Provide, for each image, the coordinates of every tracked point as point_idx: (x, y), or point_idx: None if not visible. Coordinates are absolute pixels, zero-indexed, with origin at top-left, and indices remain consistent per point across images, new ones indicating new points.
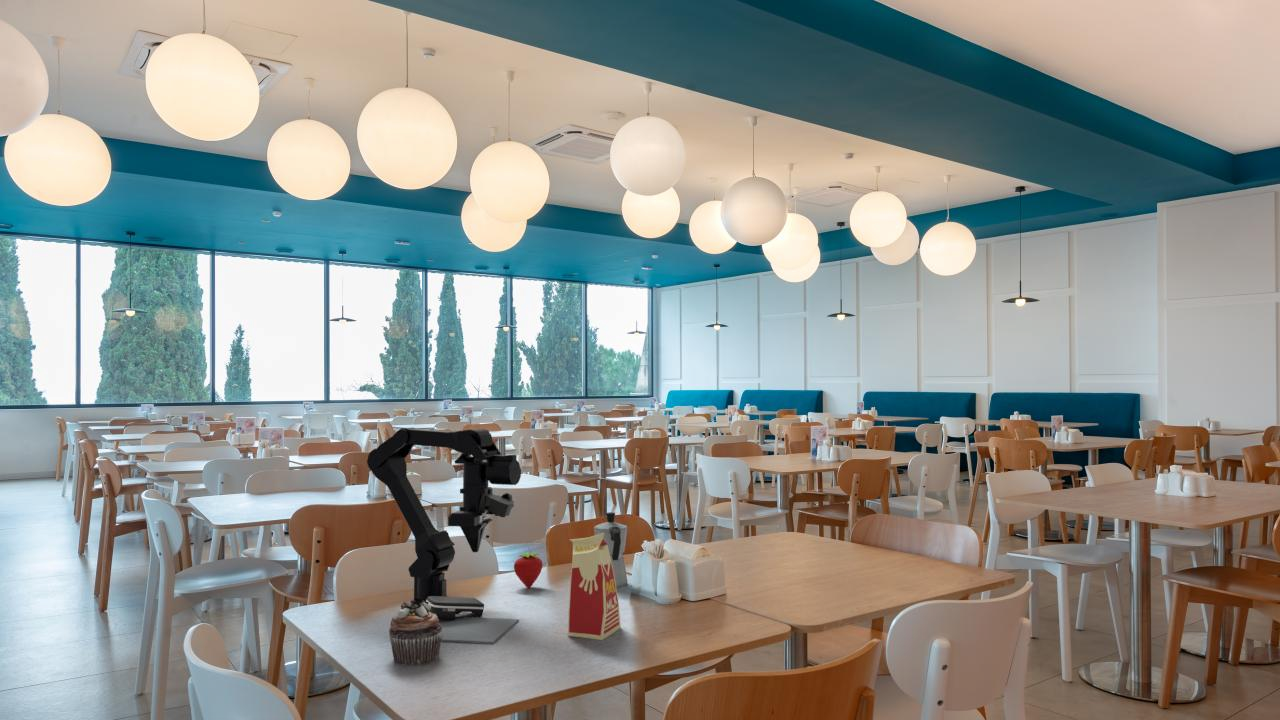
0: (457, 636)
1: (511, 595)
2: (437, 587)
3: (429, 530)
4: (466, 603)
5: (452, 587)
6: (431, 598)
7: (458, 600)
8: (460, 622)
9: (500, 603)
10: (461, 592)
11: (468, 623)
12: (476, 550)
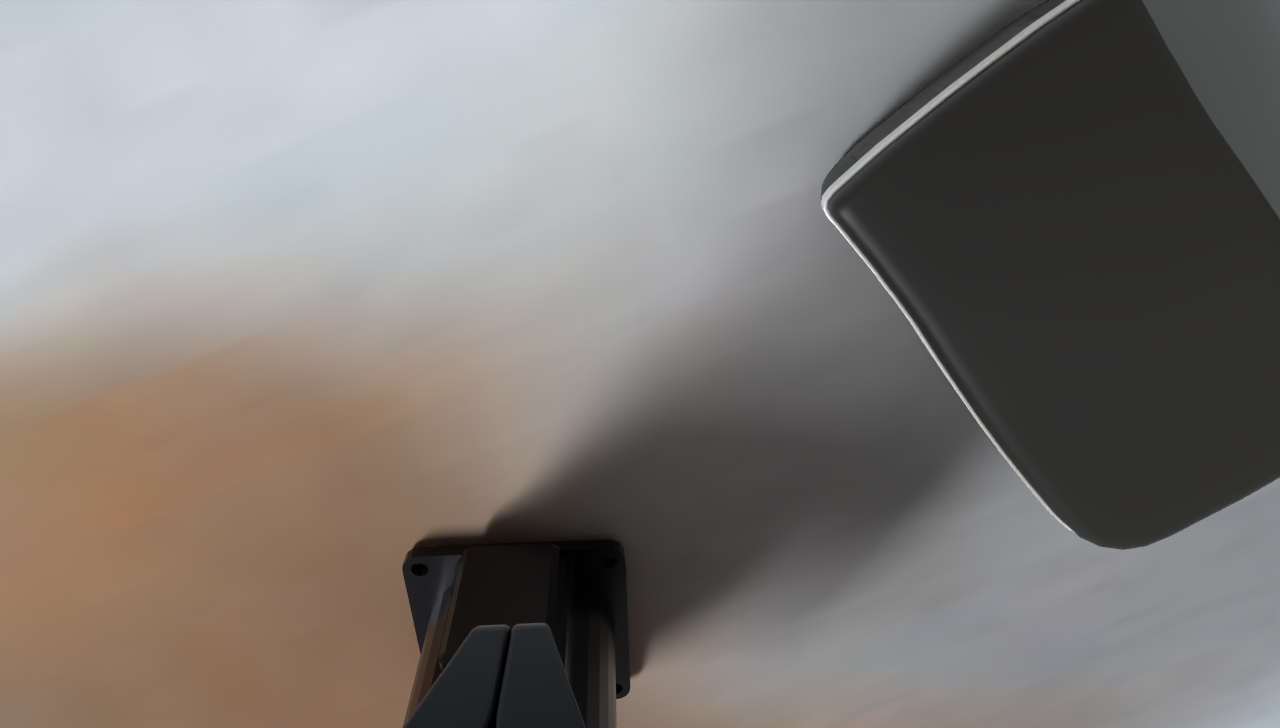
0: None
1: (73, 32)
2: (569, 642)
3: None
4: (1232, 158)
5: (95, 630)
6: (1221, 497)
7: (1135, 279)
8: (1228, 132)
9: (435, 30)
10: (203, 519)
11: (1275, 42)
12: (555, 653)
